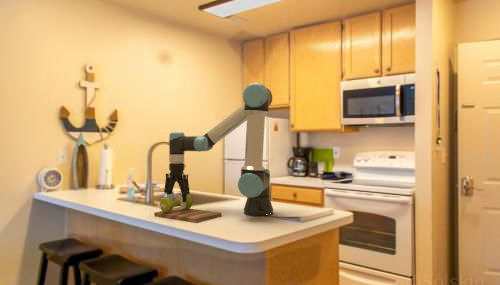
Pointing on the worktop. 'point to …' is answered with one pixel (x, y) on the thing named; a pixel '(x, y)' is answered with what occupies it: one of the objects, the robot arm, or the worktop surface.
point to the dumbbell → (174, 203)
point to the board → (188, 215)
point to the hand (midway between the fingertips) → (176, 207)
